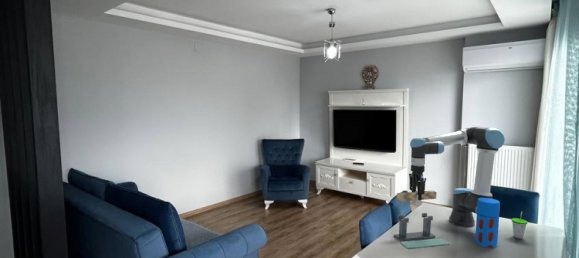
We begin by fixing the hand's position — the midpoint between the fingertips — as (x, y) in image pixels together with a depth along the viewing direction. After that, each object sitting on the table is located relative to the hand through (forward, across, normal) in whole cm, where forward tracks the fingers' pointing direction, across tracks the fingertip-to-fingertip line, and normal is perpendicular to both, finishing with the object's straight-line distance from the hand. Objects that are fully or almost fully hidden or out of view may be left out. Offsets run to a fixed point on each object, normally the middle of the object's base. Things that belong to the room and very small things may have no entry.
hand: (416, 204), depth 188 cm
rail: (-3, 0, 0) cm, 3 cm away
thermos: (+21, +16, +35) cm, 43 cm away
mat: (+20, +10, 0) cm, 22 cm away
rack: (+20, 0, 0) cm, 20 cm away
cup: (+21, +13, +61) cm, 65 cm away
